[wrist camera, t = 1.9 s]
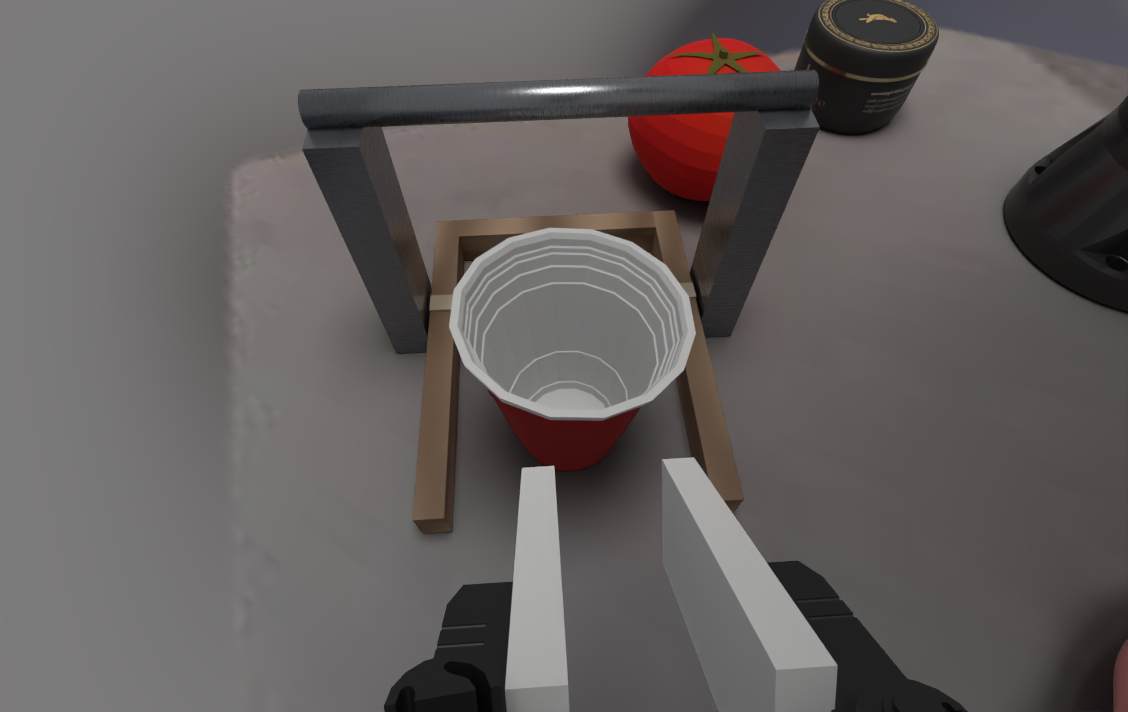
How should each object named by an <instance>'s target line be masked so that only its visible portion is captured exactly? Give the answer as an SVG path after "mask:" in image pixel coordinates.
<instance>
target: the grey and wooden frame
mask: <svg viewBox="0 0 1128 712" xmlns="http://www.w3.org/2000/svg"><path fill="white" fill-rule="evenodd" d="M818 90H819V77H818V74H817V72H816V71H815V70H796V71H770V72H745V73H719V74H693V75H668V76H642V77H616V78H592V79H569V80H568V79H566V80H540V81H516V82H515V81H514V82H490V83H464V84H437V85H411V86H388V87H387V86H386V87H363V88H362V87H360V88H336V89H310V90H300V91H299V95H298V106H299V112H300V115H301V118H302V121H303V123H304V125H305V126H306V128H307V129H308V130H307V134H306V137H305V140H304V144H303V147H302V150H303V152H304V155H305V157H306V159H307V161H308V163H309V165H310V167H311V170H312V172H313V174H314V176H315V178H316V180H317V183H318V185H319V187H320V189H321V191H322V193H323V196H324V198H325V200H326V202H327V204H328V206H329V209H330V211H331V213H332V215H333V217H334V219H335V221H336V224H337V226H338V228H339V230H340V232H341V234H342V237H343V239H344V241H345V243H346V245H347V247H348V250H349V252H350V254H351V256H352V258H353V260H354V262H355V265H356V267H357V269H358V271H359V273H360V275H361V278H362V280H363V282H364V284H365V286H366V288H367V291H368V293H369V295H370V297H371V299H372V301H373V303H374V306H375V308H376V310H377V312H378V314H379V316H380V319H381V321H382V323H383V325H384V327H385V329H386V332H387V334H388V336H389V338H390V340H391V342H392V345H393V347H394V349H395V351H396V353H397V354H402V353H421V352H427V353H426V365H425V378H424V390H423V402H422V414H421V426H420V438H419V450H418V462H417V474H416V486H415V498H414V510H413V521H414V523H415V524H416V525H417V526H418V528H419V529H420V530H421V532H422V533H423V534H426V533H442V532H452V526H453V504H454V481H455V459H456V436H457V413H458V391H459V368H460V353H459V351H458V348H457V346H456V343H455V341H454V338H453V336H452V333H451V331H450V328H449V323H450V315H451V307H452V300H453V292H454V289H455V287H456V286H457V284H458V283H459V282H460V280H461V279H462V277H463V276H464V261H466V260H475V259H476V258H478V257H479V256H481V255H482V254H484V253H485V252H487V251H489V250H490V249H492V248H493V247H495V246H496V245H498V244H500V243H501V242H503V241H504V240H506V239H508V238H510V237H514V236H518V235H522V234H526V233H530V232H534V231H538V230H542V229H546V228H571V229H593V230H596V231H599V232H602V233H605V234H609V235H612V236H615V237H618V238H621V239H624V240H628V241H631V242H633V243H634V244H636V245H637V246H639V247H640V248H642V249H643V250H645V251H646V252H652V256H654V257H655V258H657V259H658V260H659V261H661V262H662V263H664V264H665V265H666V266H667V267H668V268H669V270H670V271H671V272H672V274H673V275H674V277H675V278H676V279H677V281H678V282H679V284H680V285H681V286H682V288H683V289H684V290H685V292H686V293H687V295H688V296H689V300H690V305H691V310H692V315H693V321H694V326H695V331H696V335H695V338H694V341H693V344H692V347H691V350H690V353H689V356H688V359H687V362H686V365H685V368H684V371H682V372H681V373H680V374H679V375H678V376H677V377H676V378H677V383H678V388H679V393H680V398H681V403H682V409H683V414H684V419H685V424H686V429H687V434H688V439H689V444H690V449H691V454H692V457H694V458H695V460H696V461H697V463H698V464H699V466H700V467H701V468H702V470H703V471H704V473H705V474H706V476H707V477H708V479H709V480H710V481H711V483H712V484H713V486H714V487H715V489H716V490H717V492H718V493H719V495H720V496H721V497H722V499H723V500H724V502H725V503H726V505H727V506H728V508H729V509H730V510H731V512H732V513H733V512H734V511H735V510H736V508H737V507H738V506H739V505H740V504H741V502H742V501H743V500H744V498H743V494H742V490H741V485H740V481H739V477H738V473H737V469H736V465H735V460H734V456H733V452H732V448H731V444H730V440H729V436H728V431H727V427H726V423H725V419H724V415H723V411H722V406H721V402H720V398H719V394H718V390H717V386H716V381H715V377H714V373H713V369H712V365H711V361H710V356H709V352H708V348H707V344H706V340H705V337H719V336H731V333H732V331H733V329H734V326H735V324H736V322H737V319H738V317H739V315H740V312H741V310H742V308H743V305H744V303H745V301H746V298H747V296H748V294H749V291H750V289H751V287H752V284H753V282H754V280H755V277H756V275H757V273H758V270H759V268H760V266H761V263H762V261H763V259H764V256H765V254H766V252H767V249H768V247H769V245H770V242H771V240H772V238H773V235H774V233H775V231H776V228H777V226H778V224H779V221H780V219H781V217H782V214H783V212H784V210H785V207H786V205H787V203H788V200H789V198H790V196H791V193H792V191H793V189H794V186H795V184H796V182H797V179H798V177H799V175H800V172H801V170H802V168H803V165H804V163H805V161H806V158H807V156H808V154H809V151H810V149H811V147H812V144H813V142H814V140H815V137H816V135H817V133H818V130H819V128H820V126H819V124H818V122H817V120H816V118H815V116H814V114H813V112H812V110H811V107H812V106H813V105H814V103H815V101H816V98H817V95H818ZM726 112H734V116H733V119H732V123H731V127H730V130H729V134H728V137H727V141H726V145H725V148H724V152H723V155H722V159H721V163H720V166H719V170H718V173H717V177H716V181H715V184H714V188H713V191H712V195H711V199H710V202H709V206H708V209H707V213H706V217H705V220H704V224H703V227H702V231H701V235H700V238H699V242H698V246H697V249H696V253H695V256H694V260H693V264H692V267H691V271H690V273H689V269H688V265H687V261H686V257H685V252H684V248H683V244H682V240H681V236H680V232H679V228H678V223H677V219H676V215H675V211H674V210H671V211H649V212H628V213H606V214H585V215H563V216H542V217H520V218H499V219H477V220H456V221H437V233H436V245H435V257H434V269H433V281H432V288H431V284H430V281H429V278H428V275H427V272H426V268H425V265H424V262H423V259H422V256H421V252H420V249H419V246H418V243H417V240H416V236H415V233H414V230H413V227H412V224H411V220H410V217H409V214H408V211H407V207H406V204H405V201H404V198H403V195H402V191H401V188H400V185H399V182H398V179H397V175H396V172H395V169H394V166H393V163H392V159H391V156H390V153H389V150H388V147H387V143H386V140H385V137H384V134H383V131H382V127H387V126H411V125H435V124H459V123H484V122H508V121H532V120H556V119H581V118H605V117H629V116H654V115H678V114H702V113H726Z"/></svg>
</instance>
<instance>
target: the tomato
mask: <svg viewBox="0 0 1128 712" xmlns="http://www.w3.org/2000/svg"><path fill="white" fill-rule="evenodd" d="M764 52H766V51H760V50H758V49H757V48H755V47H753V46H751V45H749V44H747V43H745V42H742V41H738V40H735V39H727V38H716V36H715V35H714V34H713V32H712V39H706V40H701V41H696V42H693V43H690V44H687V45H684V46H683V47H681V48H679V49H677V50H675V51H673V52H672V53H670V54H667V56H665V57H664V58H662V59H661V60H660V61H659V62H658V63H657V64H656V65H655V66H654V67H653V68H652V69H651V70H650V71H649V72H648V73H647V74H646V75H645V76H668V75H693V74H719V73H745V72H770V71H781V70H780V69H779V68H778V67H777V66H776V65H775V64H774V63H773V62H772V61H771V59H770V58H769V57H768V56H766V55H765V54H764ZM733 116H734V112H726V113H702V114H678V115H654V116H629V117H628V127H629V132H630V136H631V140H632V143H633V147H634V149H635V151H636V153H637V156H638V158H639V160H640V161H641V163H642V165H643V167H644V168H645V169H646V171H647V172H648V173H649V175H650V176H651V177H652V178H653V179H654V181H655V182H656V183H658V184H659V185H660V186H661V187H662V188H664V189H665V190H667V191H669V192H670V193H672V194H674V195H677V196H679V197H682V198H686V199H691V200H697V201H710V199H711V195H712V191H713V188H714V184H715V181H716V177H717V173H718V170H719V166H720V163H721V159H722V155H723V152H724V148H725V145H726V141H727V137H728V134H729V130H730V127H731V123H732V119H733Z"/></svg>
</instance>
